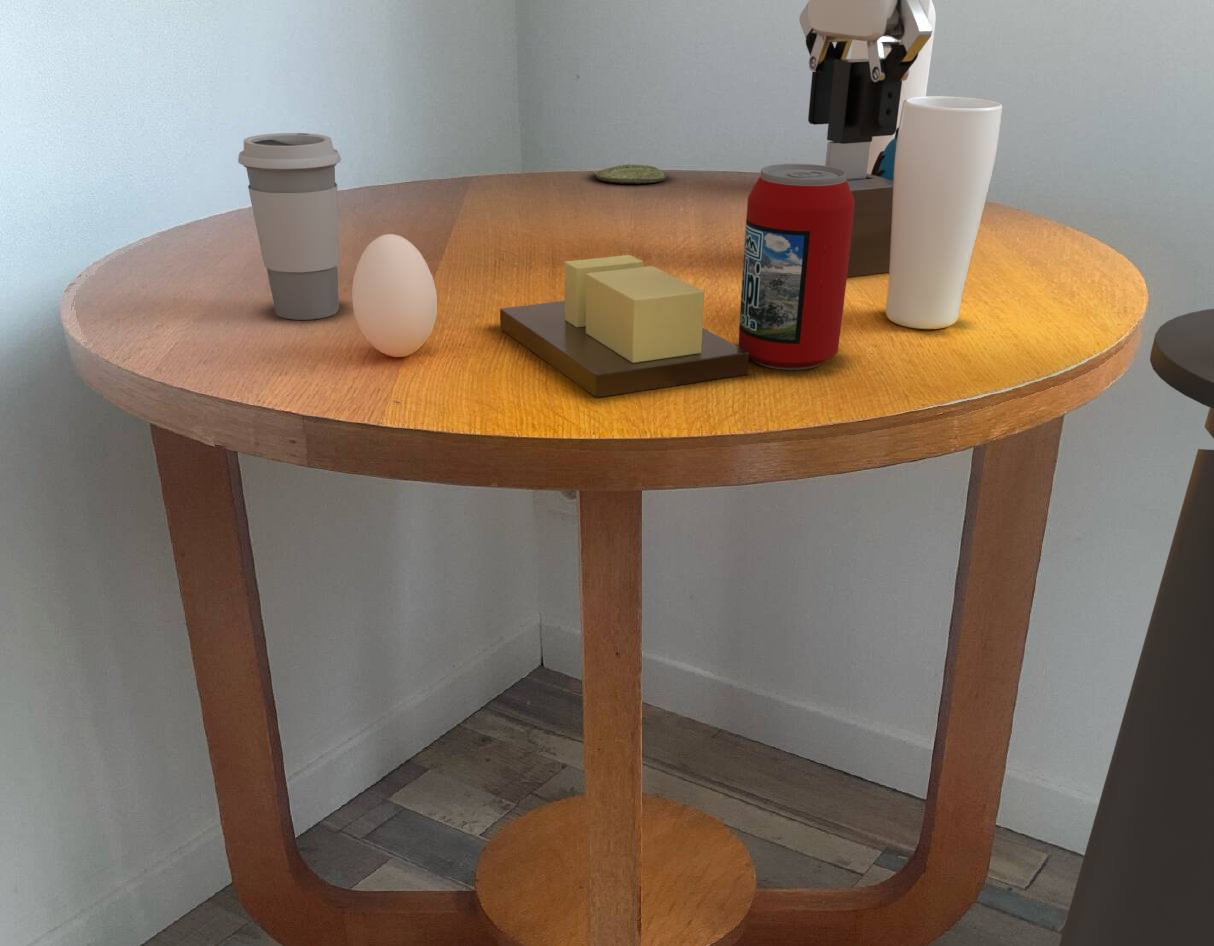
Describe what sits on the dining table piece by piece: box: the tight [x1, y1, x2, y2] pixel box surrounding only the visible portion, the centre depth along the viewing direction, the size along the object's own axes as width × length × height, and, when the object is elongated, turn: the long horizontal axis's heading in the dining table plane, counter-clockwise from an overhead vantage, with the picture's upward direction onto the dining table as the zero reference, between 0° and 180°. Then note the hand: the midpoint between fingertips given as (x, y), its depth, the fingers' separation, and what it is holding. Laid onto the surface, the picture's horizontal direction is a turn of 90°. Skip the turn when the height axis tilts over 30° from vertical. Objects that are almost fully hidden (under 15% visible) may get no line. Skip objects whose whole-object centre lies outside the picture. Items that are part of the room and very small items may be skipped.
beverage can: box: [737, 163, 855, 371], centre depth 79 cm, size 7×7×12 cm
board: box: [499, 300, 750, 398], centre depth 82 cm, size 16×11×2 cm
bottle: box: [850, 0, 937, 174], centre depth 123 cm, size 8×8×30 cm
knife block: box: [847, 174, 893, 278], centre depth 102 cm, size 8×7×7 cm
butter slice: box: [564, 254, 644, 327], centre depth 83 cm, size 2×5×4 cm, turn 116°
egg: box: [351, 233, 438, 358], centre depth 79 cm, size 6×6×8 cm
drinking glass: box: [885, 95, 1003, 330], centre depth 86 cm, size 7×7×15 cm
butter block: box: [586, 265, 705, 363], centre depth 78 cm, size 7×5×4 cm
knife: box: [824, 58, 872, 181], centre depth 100 cm, size 2×4×16 cm, turn 116°
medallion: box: [594, 164, 667, 185], centre depth 137 cm, size 8×8×1 cm
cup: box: [237, 132, 342, 321], centre depth 87 cm, size 7×7×12 cm
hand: (850, 127), depth 99 cm, fingers open, 6 cm apart
